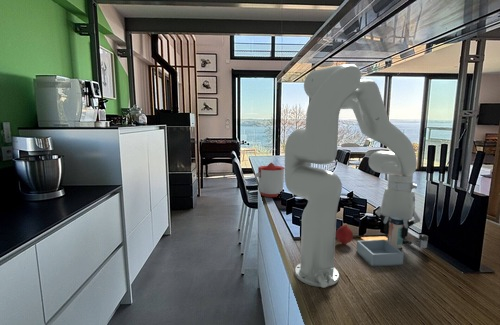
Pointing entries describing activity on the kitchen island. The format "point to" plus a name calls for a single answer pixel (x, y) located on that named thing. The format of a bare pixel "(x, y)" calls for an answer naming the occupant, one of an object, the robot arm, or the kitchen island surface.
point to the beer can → (395, 231)
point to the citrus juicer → (270, 180)
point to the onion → (344, 234)
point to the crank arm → (417, 239)
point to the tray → (379, 253)
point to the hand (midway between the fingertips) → (395, 234)
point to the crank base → (382, 239)
